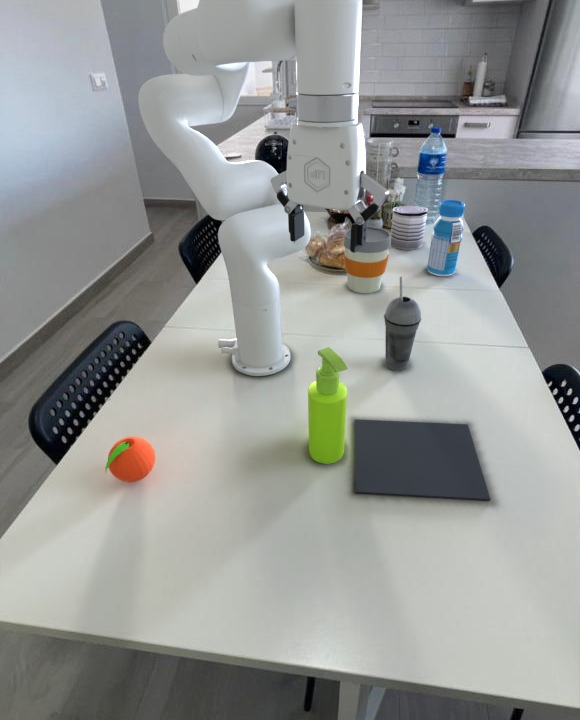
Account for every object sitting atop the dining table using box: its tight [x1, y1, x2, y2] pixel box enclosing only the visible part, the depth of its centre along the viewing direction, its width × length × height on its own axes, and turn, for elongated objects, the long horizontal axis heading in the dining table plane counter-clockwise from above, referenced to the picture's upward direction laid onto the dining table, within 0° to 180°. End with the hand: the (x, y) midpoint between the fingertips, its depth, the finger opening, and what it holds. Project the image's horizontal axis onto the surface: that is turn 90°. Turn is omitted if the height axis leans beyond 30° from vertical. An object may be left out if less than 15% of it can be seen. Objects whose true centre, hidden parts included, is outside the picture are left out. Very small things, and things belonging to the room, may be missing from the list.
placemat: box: [354, 418, 491, 502], centre depth 73 cm, size 20×16×1 cm
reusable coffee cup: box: [342, 225, 392, 294], centre depth 121 cm, size 12×13×15 cm
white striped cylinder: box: [390, 205, 429, 251], centre depth 147 cm, size 11×11×12 cm
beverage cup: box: [383, 276, 422, 371], centre depth 89 cm, size 7×7×20 cm
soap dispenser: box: [307, 346, 349, 465], centre depth 69 cm, size 6×7×20 cm
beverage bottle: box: [426, 199, 466, 277], centre depth 127 cm, size 8×8×20 cm
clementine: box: [105, 435, 156, 483], centre depth 69 cm, size 8×7×7 cm
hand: (326, 243), depth 65 cm, fingers open, 9 cm apart
